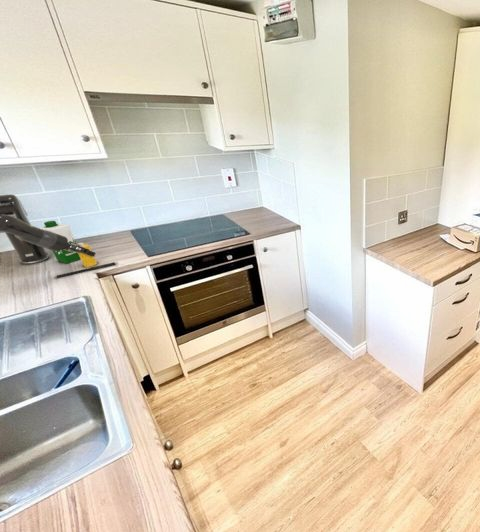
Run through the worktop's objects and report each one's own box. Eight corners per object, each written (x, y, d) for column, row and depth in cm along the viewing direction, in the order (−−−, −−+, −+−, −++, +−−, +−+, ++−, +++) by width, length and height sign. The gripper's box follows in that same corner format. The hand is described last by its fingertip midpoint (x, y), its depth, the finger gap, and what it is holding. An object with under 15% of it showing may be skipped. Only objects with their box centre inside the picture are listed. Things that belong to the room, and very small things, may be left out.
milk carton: (75, 254, 169) (57, 218, 160) (86, 257, 167) (69, 221, 157) (54, 261, 162) (35, 224, 152) (66, 264, 159) (47, 226, 150)
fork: (57, 276, 149) (56, 275, 149) (114, 263, 162) (114, 262, 162) (57, 278, 147) (56, 277, 147) (115, 264, 160) (115, 263, 160)
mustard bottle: (84, 264, 160) (73, 243, 155) (96, 261, 163) (87, 240, 158) (84, 267, 157) (74, 246, 152) (97, 264, 160) (87, 243, 155)
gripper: (64, 234, 143) (104, 249, 159) (43, 230, 146) (84, 245, 162) (55, 250, 141) (97, 263, 156) (34, 245, 144) (76, 258, 160)
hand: (90, 253), depth 159 cm, fingers closed on mustard bottle, 4 cm apart
